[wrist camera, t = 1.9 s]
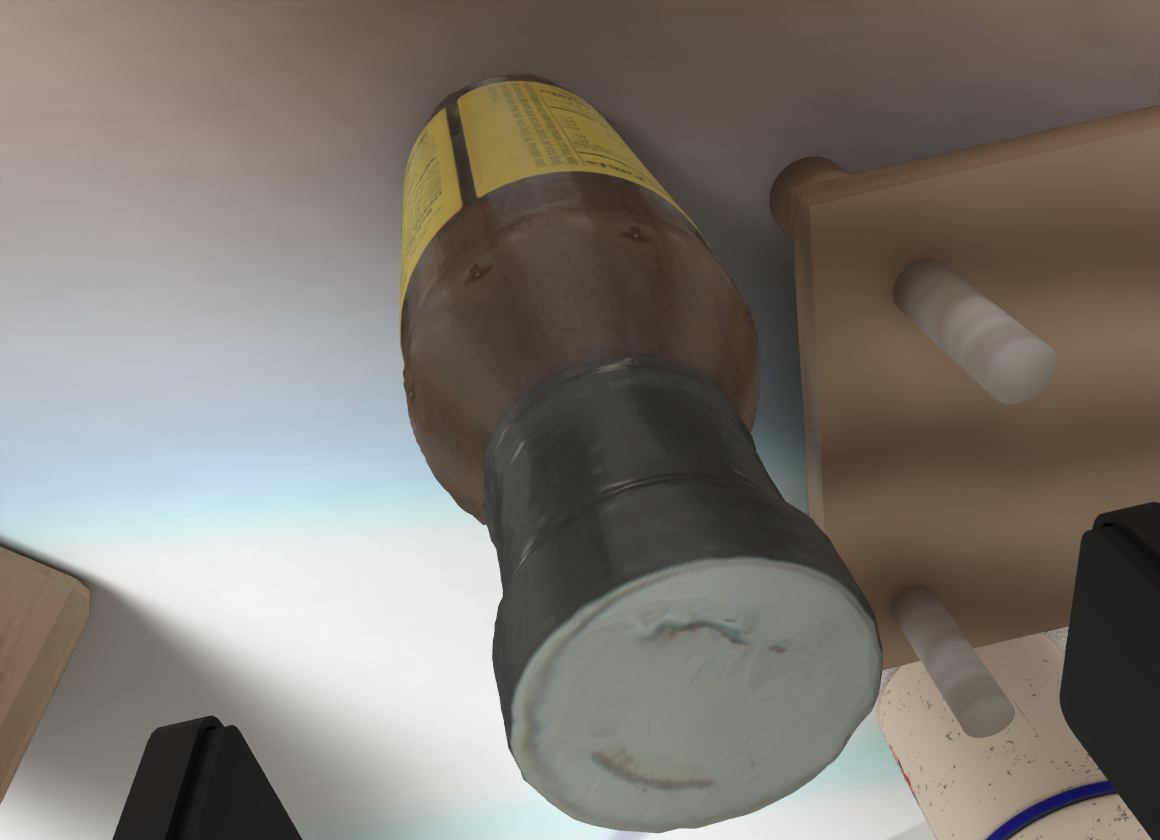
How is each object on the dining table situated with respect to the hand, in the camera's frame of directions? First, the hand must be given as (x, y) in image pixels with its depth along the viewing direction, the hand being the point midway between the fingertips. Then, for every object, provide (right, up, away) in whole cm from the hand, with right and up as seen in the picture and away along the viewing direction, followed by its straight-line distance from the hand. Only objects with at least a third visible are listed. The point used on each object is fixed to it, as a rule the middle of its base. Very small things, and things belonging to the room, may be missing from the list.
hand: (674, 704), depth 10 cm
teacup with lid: (+18, -9, +31) cm, 37 cm away
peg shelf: (+15, +5, +22) cm, 27 cm away
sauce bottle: (-3, +10, +16) cm, 19 cm away
